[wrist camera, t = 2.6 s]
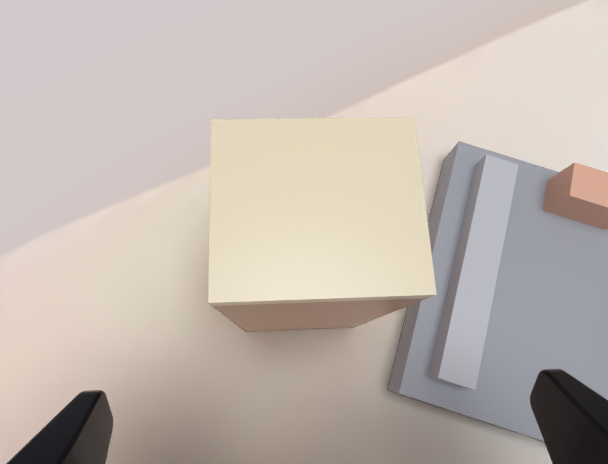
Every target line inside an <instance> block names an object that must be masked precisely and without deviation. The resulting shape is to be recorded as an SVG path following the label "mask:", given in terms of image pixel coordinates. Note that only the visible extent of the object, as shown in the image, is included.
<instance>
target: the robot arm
mask: <svg viewBox="0 0 608 464" xmlns="http://www.w3.org/2000/svg"><path fill="white" fill-rule="evenodd" d="M530 405H531V408H532V411H533V414H534V416H535V419H536V421H537V424H538V426H539V429H540V432H541V434H542V437H543V439H544V442H545V445H546V447H547V450H548V452H549V455H550V458H551V460H552V463H553V464H608V400H607V399H605V398H604V397H602V396H601V395H600V394H598V393H597V392H595V391H594V390H592V389H591V388H589V387H588V386H586V385H585V384H583V383H582V382H580V381H579V380H577V379H576V378H574V377H573V376H571V375H570V374H568V373H567V372H565V371H564V370H561V369H544V370H541V371H540V372H539V374H538V376H537V378H536V381H535V384H534V386H533V389H532V391H531V394H530ZM112 429H113V417H112V413H111V410H110V407H109V403H108V400H107V397H106V394H105V393H104V392H103V391H101V390H95V391H83V392H81V393H79V394H78V395H77V396H76V397H75V398H74V399H73V400H72V401H71V402H70V403H69V404H68V405H67V406H66V407H65V408H64V409H63V410H62V411H60V412H59V413H58V414H57V415H56V416H55V417H54V418H53V419H52V420H51V421H50V422H49V423H48V424H47V425H46V426H45V427H44V428H43V429H42V430H41V431H40V432H39V433H38V434H37V435H36V436H35V437H34V438H33V439H32V440H30V441H29V442H28V443H27V444H26V445H25V446H24V447H23V448H22V449H21V450H20V451H19V452H18V453H17V454H16V455H15V456H14V457H13V458H12V459H11V460H10V461H9V462H8V463H7V464H105V462H106V458H107V453H108V448H109V443H110V439H111V434H112Z"/></svg>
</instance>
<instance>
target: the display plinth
mask: <svg viewBox="0 0 608 464" xmlns="http://www.w3.org/2000/svg"><path fill="white" fill-rule="evenodd" d="M428 229H429V237H430V245H431V253H432V261H433V269H434V277H435V285H436V294H437V295H435V296H432V297H430V298H427V299H424V300H422V301H419V302H417V303H414V304H412V305H409V306H408V308H407V312H406V316H405V320H404V324H403V329H402V333H401V337H400V341H399V345H398V349H397V353H396V357H395V361H394V365H393V369H392V373H391V377H390V381H389V385H388V390H390V391H393V392H396V393H399V394H402V395H405V396H408V397H411V398H414V399H417V400H420V401H423V402H426V403H429V404H432V405H435V406H438V407H441V408H444V409H447V410H450V411H453V412H456V413H459V414H462V415H465V416H468V417H471V418H474V419H478V420H481V421H484V422H487V423H490V424H493V425H496V426H499V427H502V428H505V429H508V430H511V431H514V432H517V433H520V434H523V435H526V436H529V437H532V438H535V439H538V440H541V441H544V439H543V437H542V434H541V432H540V429H539V426H538V424H537V421H536V419H535V416H534V414H533V411H532V408H531V405H530V394H531V391H532V389H533V386H534V384H535V381H536V378H537V376H538V374H539V372H540V371H541V370H544V369H561V370H564V371H565V372H567V373H568V374H570V375H571V376H573V377H574V378H576V379H577V380H579V381H580V382H582V383H583V384H585V385H586V386H588V387H589V388H591V389H592V390H594V391H595V392H597V393H598V394H600V395H601V396H602V397H604V398H605V399H607V400H608V173H607V172H604V171H600V170H597V169H594V168H591V167H587V166H584V165H581V164H578V163H573V164H572V165H570V166H569V167H567V168H566V169H564V170H563V171H561V172H557V171H553V170H550V169H547V168H544V167H540V166H537V165H534V164H531V163H527V162H524V161H521V160H518V159H514V158H511V157H508V156H505V155H502V154H498V153H495V152H492V151H489V150H485V149H482V148H479V147H476V146H472V145H469V144H466V143H463V142H458V143H457V144H456V146H455V147H454V148H453V149H452V150H451V152H450V153H449V154H448V155H447V156H446V158H445V159H444V162H443V166H442V170H441V174H440V178H439V182H438V186H437V190H436V194H435V199H434V203H433V207H432V211H431V215H430V219H429V223H428Z"/></svg>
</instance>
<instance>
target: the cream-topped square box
mask: <svg viewBox="0 0 608 464" xmlns="http://www.w3.org/2000/svg"><path fill="white" fill-rule="evenodd" d="M435 295H437V294H436V285H435V277H434V269H433V261H432V253H431V245H430V237H429V229H428V221H427V213H426V205H425V196H424V188H423V180H422V172H421V164H420V156H419V148H418V140H417V132H416V124H415V117H406V118H311V119H308V118H306V119H216V120H215V119H212V120H211V158H210V221H209V285H208V303H209V304H210V305H212V306H213V307H214V308H215V309H217V310H218V311H219V312H221V313H222V314H223V315H225V316H226V317H227V318H229V319H230V320H231V321H233V322H234V323H235V324H237V325H238V326H239V327H241V328H242V329H243V330H244V331H246V332H251V331H276V330H300V329H325V328H349V327H356V326H358V325H361V324H363V323H366V322H368V321H371V320H374V319H376V318H379V317H381V316H384V315H386V314H389V313H391V312H394V311H396V310H399V309H402V308H404V307H407V306H409V305H412V304H414V303H417V302H419V301H422V300H424V299H427V298H430V297H432V296H435Z"/></svg>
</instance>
